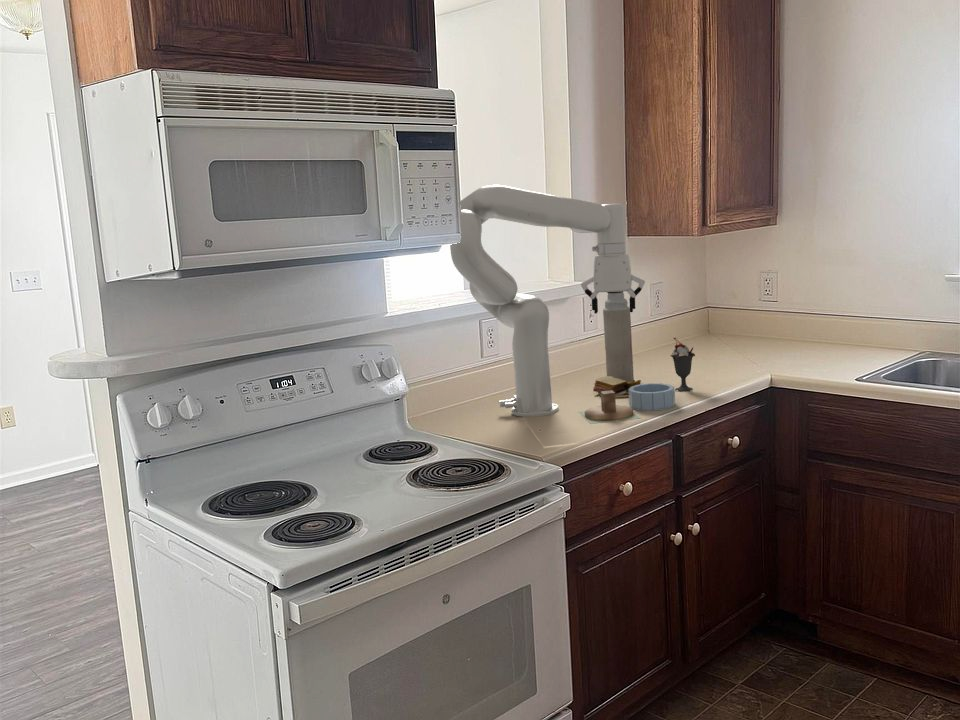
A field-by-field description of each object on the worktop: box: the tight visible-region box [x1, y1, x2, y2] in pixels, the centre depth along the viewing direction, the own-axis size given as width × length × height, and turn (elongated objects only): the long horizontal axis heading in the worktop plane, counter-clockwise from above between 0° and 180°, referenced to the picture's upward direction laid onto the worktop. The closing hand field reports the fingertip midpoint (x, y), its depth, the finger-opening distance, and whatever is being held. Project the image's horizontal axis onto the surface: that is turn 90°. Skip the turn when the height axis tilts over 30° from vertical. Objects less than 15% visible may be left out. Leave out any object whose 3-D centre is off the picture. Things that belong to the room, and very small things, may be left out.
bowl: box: [628, 382, 676, 412], centre depth 233 cm, size 12×12×5 cm
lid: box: [584, 390, 635, 422], centre depth 226 cm, size 12×12×6 cm
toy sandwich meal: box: [592, 375, 642, 399], centre depth 250 cm, size 12×14×5 cm
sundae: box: [670, 337, 696, 392], centre depth 248 cm, size 7×7×15 cm
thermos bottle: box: [602, 291, 635, 382], centre depth 264 cm, size 8×8×28 cm
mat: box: [578, 410, 642, 425], centre depth 227 cm, size 13×13×1 cm
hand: (613, 312), depth 243 cm, fingers open, 9 cm apart
